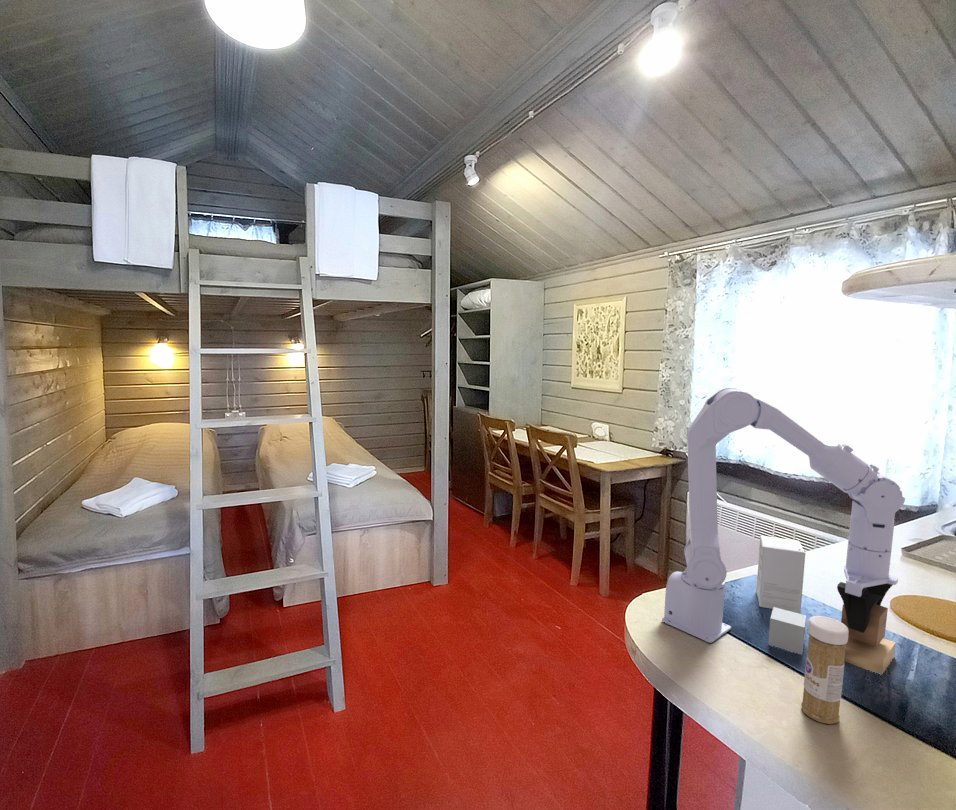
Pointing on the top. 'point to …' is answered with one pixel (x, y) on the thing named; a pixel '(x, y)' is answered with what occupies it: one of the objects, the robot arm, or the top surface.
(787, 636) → the light grey cube
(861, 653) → the oak base block
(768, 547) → the supplement box
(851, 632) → the walnut cube
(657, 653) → the top surface
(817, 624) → the toothpick jar
